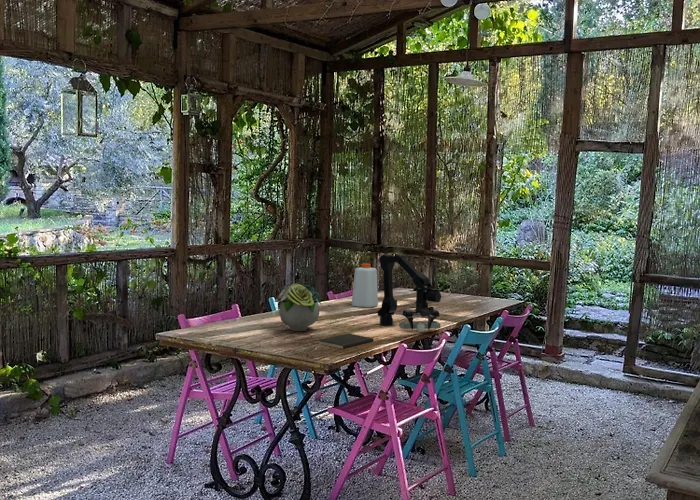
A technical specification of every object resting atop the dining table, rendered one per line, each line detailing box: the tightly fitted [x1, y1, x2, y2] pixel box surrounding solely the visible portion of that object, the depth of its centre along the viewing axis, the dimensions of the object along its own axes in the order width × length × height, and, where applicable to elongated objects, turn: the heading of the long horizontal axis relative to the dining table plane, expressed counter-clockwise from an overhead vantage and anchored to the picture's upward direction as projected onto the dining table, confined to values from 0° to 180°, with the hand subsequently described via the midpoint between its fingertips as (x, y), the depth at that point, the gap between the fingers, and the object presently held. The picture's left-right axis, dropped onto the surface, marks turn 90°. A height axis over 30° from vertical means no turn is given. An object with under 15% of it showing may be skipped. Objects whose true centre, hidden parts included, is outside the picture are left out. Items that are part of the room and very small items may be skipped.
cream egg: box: [415, 322, 426, 333], centre depth 340 cm, size 4×4×6 cm
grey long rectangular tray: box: [398, 320, 441, 330], centre depth 351 cm, size 21×8×4 cm, turn 103°
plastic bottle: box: [351, 262, 379, 309], centre depth 422 cm, size 15×15×28 cm
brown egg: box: [403, 317, 410, 324], centre depth 349 cm, size 4×4×6 cm
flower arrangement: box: [274, 282, 322, 332], centre depth 338 cm, size 25×25×24 cm
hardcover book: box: [317, 332, 374, 350], centre depth 311 cm, size 16×23×2 cm
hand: (420, 329), depth 340 cm, fingers open, 9 cm apart
